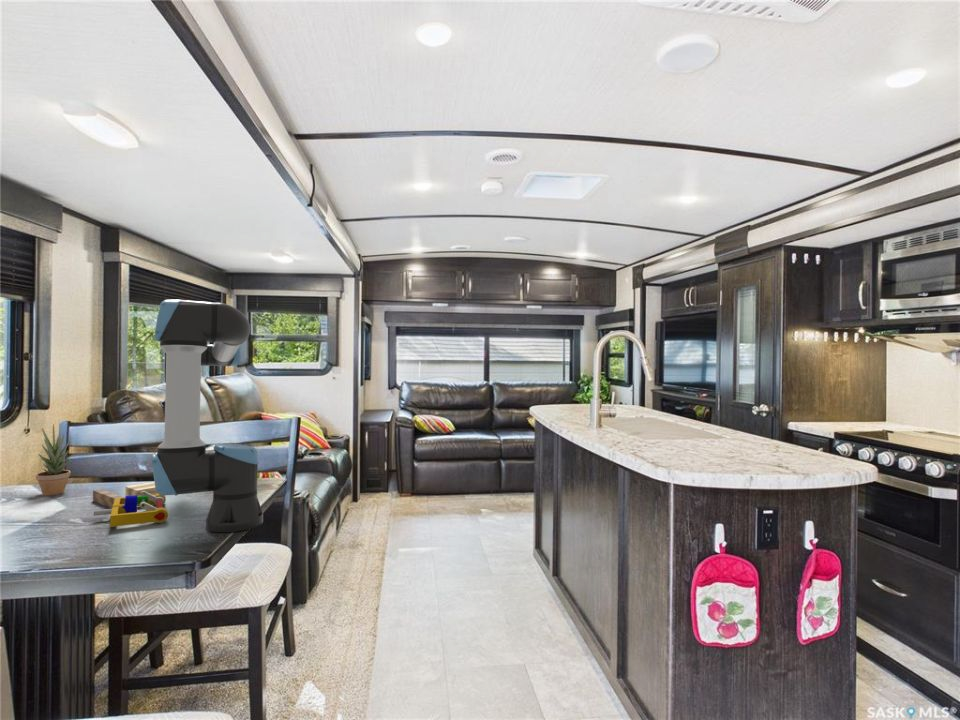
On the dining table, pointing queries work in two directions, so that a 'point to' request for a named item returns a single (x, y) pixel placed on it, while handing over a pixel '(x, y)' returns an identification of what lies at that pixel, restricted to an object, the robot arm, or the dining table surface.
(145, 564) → the dining table surface
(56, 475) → the potted plant
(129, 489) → the block
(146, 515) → the mechanical clamp
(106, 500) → the board
